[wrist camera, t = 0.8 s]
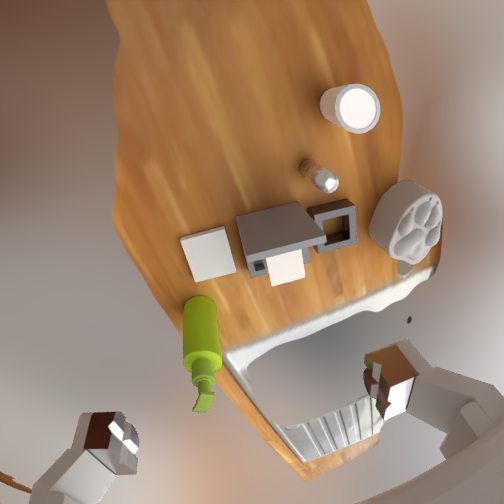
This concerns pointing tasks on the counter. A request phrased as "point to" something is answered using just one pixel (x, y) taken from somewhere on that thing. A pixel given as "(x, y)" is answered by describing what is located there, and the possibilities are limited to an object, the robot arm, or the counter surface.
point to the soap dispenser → (201, 347)
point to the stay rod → (319, 176)
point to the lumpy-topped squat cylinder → (407, 221)
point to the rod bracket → (348, 222)
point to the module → (284, 267)
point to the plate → (208, 254)
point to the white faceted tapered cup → (351, 107)
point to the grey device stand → (277, 234)
